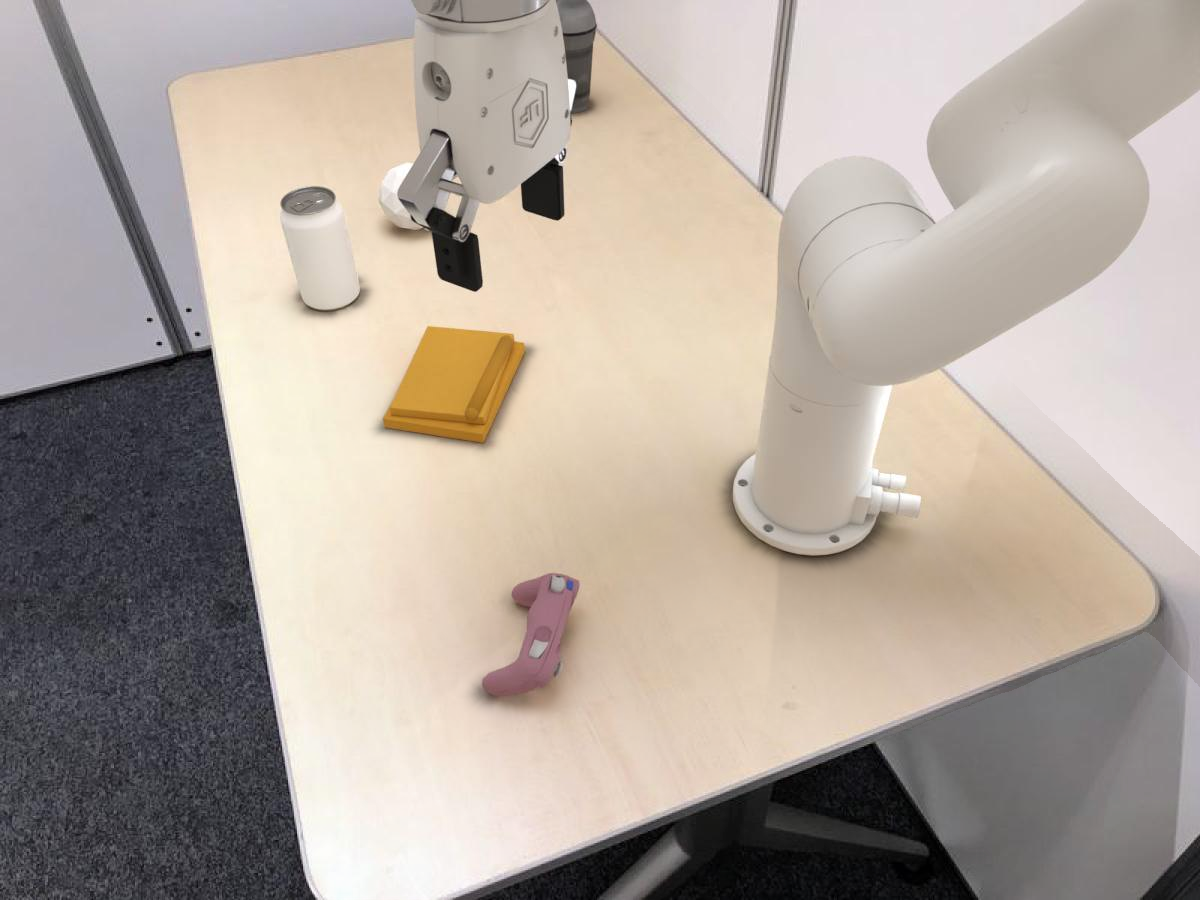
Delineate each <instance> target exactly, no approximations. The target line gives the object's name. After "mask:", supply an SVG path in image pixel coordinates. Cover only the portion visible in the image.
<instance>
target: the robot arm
mask: <svg viewBox="0 0 1200 900" xmlns="http://www.w3.org/2000/svg"><path fill="white" fill-rule="evenodd" d="M411 3H412V4H413V7H414V8H415V13H416V15H417V19H415V21H414V27H413V28H414V30H413V85H414V86H413V89H414V104H415V105H414V107H415V118H416V126H417V127H416V128H417V135H418V137H417V138H418V145H419V152H420V153H419V154H418V156H417V157H416V159H415V160H414V162H413V163H412V164H413V166H412V167H411V169H410V170H409V172H408V174H407V175H406V177H405V179H404V180H403V182H402V183H401V185H400V187H399V189H398V193H397V196H398V199H399V200H400V202H401V203H402V205H403V206H404V207H405V209H406V210H407V211H408V213H409V214H410V216H411V220H412V221H413V222H415V223H417V224H418V225H420V226H422V227H423V228H422V229H423V230H425V231H428V232H431V237H432V238H431V239H432V245H433V251H434V252H433V253H434V258H435V265H436V266H435V267H436V274H437V276H438V278H439V279H440V280H442V281H444V282H446V283H450V284H452V285H455V286H457V287H460V288H463V289H465V290H468V291H471V292H474V293H476V292H478V291H479V290H480V289H482V288H483V286H484V285H483V284H484V280H483V279H484V278H483V270H482V262H481V252H480V243H479V237H478V234H475V233H474V232H471V231H472V228H473V225H474V222H475V218H476V215H477V212H478V209H479V205H480V203H481V204H484V205H491V204H494V203H496V202H498V201H500V200H502V199H504V197H506V196H507V195H508V194H509V193H511V192H512V191H514V190H515V189H516V188H518V187H519V186H520V193H521V207H522V210H523V211H525V212H527V213H530V214H534V215H537V216H540V217H543V218H546V219H548V220H552V221H556V222H557V221H560V220H561V219H563V217H565V186H564V166H563V165H562V164H564V162H565V161H566V159H567V156H568V146H567V145H568V143H569V141H570V138H571V127H572V125H573V120H572V119H573V118H572V115H571V113H570V111H571V109H572V105H573V100H574V95H575V91H576V82H575V80H572V79H568V76H567V65H566V56H565V47H564V40H563V33H562V27H561V22H560V17H559V12H558V8H557V4H556V0H411ZM1199 91H1200V0H1084V1H1083V2H1082V3H1081V4H1079V5H1078V6H1076V7H1075V8H1074V9H1073V10H1072V11H1070V12H1069V13H1067V14H1066V15H1064V16H1063V17H1062V18H1060V19H1059V20H1057V21H1056V22H1054V23H1053V24H1052V25H1051V26H1048V28H1046V29H1045V30H1043V31H1042V32H1041V33H1039V34H1038V35H1036V36H1035V37H1033V38H1032V39H1030V40H1029V41H1028V42H1026V43H1025V44H1023V45H1022V46H1021V47H1019V48H1018V49H1016V50H1014V51H1013V52H1012V53H1011V54H1008V55H1007V56H1006V57H1005V58H1003V59H1002V60H1000V61H999V62H998V63H996V64H995V65H993V66H992V67H991V68H989V69H987V70H986V71H984V72H983V73H982V74H980V75H979V76H977V77H976V78H975V79H974V80H972V81H971V82H970V83H968V84H967V85H965V86H964V87H962V88H961V89H960V90H959V91H958V92H956V93H955V94H954V95H952V97H951V98H949V99H948V101H946V102H945V103H944V105H942V107H941V108H940V109H939V110H938V111H937V113H936V114H935V115H934V117H933V119H932V121H931V122H930V125H929V129H928V132H927V135H926V154H927V160H928V163H929V166H930V169H931V170H932V172H933V175H934V176H935V179H936V181H937V183H938V185H939V187H940V189H941V190H942V192H943V194H944V196H945V197H946V200H947V201H948V202H949V204H950V205H951V208H952V209H953V211H951V212H950V213H949V214H948V215H946V216H944V217H943V218H942V219H940V220H939V221H937V222H935V220H934V218H933V216H932V215H931V213H930V211H929V209H928V208H927V206H926V204H925V203H924V200H923V199H922V197H921V195H920V194H919V193H918V192H917V190H916V188H915V186H913V185H912V183H911V182H909V180H908V179H907V178H906V177H905V176H904V175H903V174H902V173H901V172H900V171H899V170H898V169H896V168H894V167H893V166H891V165H890V164H888V163H886V162H885V161H883V160H879V159H876V158H872V157H869V156H863V155H861V156H856V155H855V156H843V157H839V158H836V159H833V160H830V161H828V162H825V163H824V164H822V165H819V167H817V168H815V169H814V170H813V171H811V172H810V173H809V174H808V175H806V177H804V178H803V180H802V181H801V182H800V184H798V185H797V187H796V188H795V189H794V191H793V193H792V194H791V196H790V198H789V200H788V202H787V204H786V207H785V209H784V211H783V215H782V218H781V221H780V228H779V233H778V242H777V243H778V244H777V269H776V270H777V271H776V272H777V274H776V275H777V277H776V280H777V281H776V302H775V317H774V326H773V333H772V341H771V346H770V347H771V349H770V354H769V359H768V365H767V373H766V379H765V387H764V392H763V393H764V394H763V400H762V408H761V416H760V421H759V422H760V423H759V429H758V436H757V442H756V449H755V453H754V454H752V455H751V456H750V457H748V458H747V459H746V460H745V461H744V462H743V463H742V464H741V465H740V467H739V469H738V470H737V472H736V475H735V477H734V479H733V486H732V502H733V506H734V510H735V512H736V515H737V516H738V518H739V520H740V521H741V523H742V524H743V525H744V526H745V528H746V529H747V530H748V531H749V532H750V533H751V534H753V535H754V536H755V537H756V538H757V539H759V540H761V541H762V542H764V543H766V544H767V545H770V546H771V547H774V548H776V549H779V550H781V551H784V552H786V553H787V552H788V553H791V554H796V555H805V556H827V555H832V554H833V555H834V554H837V553H841V552H844V551H847V550H849V549H851V548H853V547H854V546H856V545H858V544H859V543H861V542H863V540H864V539H865V538H866V537H868V535H869V534H870V533H871V531H872V530H873V528H874V526H875V524H876V521H877V517H878V516H879V515H880V512H882V513H889V514H895V516H899V517H906V518H912V519H918V518H919V515H920V513H921V507H922V496H921V495H917V494H911V493H904V491H905V488H906V482H907V476H906V475H901V474H895V473H890V474H889V473H884V472H879V469H878V468H873V464H874V456H875V453H876V448H877V446H878V445H877V444H878V441H879V437H880V434H881V429H882V426H883V422H884V418H885V415H886V410H887V407H888V403H889V399H890V396H891V391H892V388H893V386H895V385H896V386H897V385H901V384H904V383H909V382H913V381H916V380H917V379H921V378H924V377H926V376H928V375H931V374H932V373H935V372H937V371H939V370H940V369H943V368H945V367H946V366H949V365H950V364H952V363H954V362H955V361H957V360H959V359H961V358H963V357H964V356H966V355H968V354H969V353H971V352H973V351H976V349H978V348H980V347H982V346H984V345H985V344H987V343H989V342H991V341H992V340H994V339H996V338H998V337H999V336H1001V335H1003V334H1004V333H1006V332H1008V331H1010V330H1011V329H1013V328H1015V327H1017V326H1018V325H1020V324H1022V323H1023V322H1025V321H1027V320H1029V319H1030V318H1032V317H1034V316H1035V315H1037V314H1039V313H1041V312H1043V311H1044V310H1046V309H1048V308H1049V307H1051V306H1053V305H1055V304H1057V303H1058V302H1060V301H1061V300H1063V299H1065V298H1067V297H1069V296H1070V295H1072V294H1073V293H1075V292H1076V291H1078V290H1080V289H1081V288H1083V287H1084V286H1086V285H1088V284H1089V283H1091V282H1092V281H1093V280H1095V279H1097V277H1099V276H1100V275H1101V274H1103V273H1104V272H1105V271H1106V270H1107V269H1109V267H1110V266H1112V265H1113V264H1114V262H1116V261H1117V259H1118V258H1119V257H1120V256H1121V255H1122V254H1123V252H1125V250H1126V249H1127V248H1128V247H1129V246H1130V244H1131V243H1132V241H1133V240H1134V238H1135V237H1136V236H1137V234H1138V232H1139V230H1140V228H1141V227H1142V225H1143V222H1144V220H1145V217H1146V216H1147V211H1148V208H1149V202H1150V182H1149V181H1150V180H1149V177H1148V173H1147V169H1146V167H1145V165H1144V163H1143V161H1142V159H1141V157H1140V156H1139V154H1138V152H1137V151H1136V150H1135V149H1134V147H1133V146H1132V144H1130V142H1129V141H1130V140H1132V139H1134V138H1135V137H1137V136H1138V135H1139V134H1141V133H1142V132H1144V131H1145V130H1146V129H1148V128H1149V127H1151V126H1152V125H1154V124H1156V122H1158V121H1159V120H1161V119H1162V118H1164V117H1165V116H1166V115H1168V114H1170V112H1172V111H1174V110H1175V109H1176V108H1178V107H1180V106H1181V105H1182V104H1184V103H1185V102H1186V101H1188V100H1189V99H1191V98H1192V97H1193V96H1194V95H1196V94H1197V93H1198V92H1199ZM559 164H561V165H559ZM456 178H458V179H459V181H460V183H459V182H455V181H454V180H455V179H456ZM451 194H453V195H455V196H459V197H461V198H460V201H459V205H458V208H457V211H456V215H455V216H453V215H452V214H450V213H449V212H447V211H446V208H447V204H448V201H449V198H450V195H451ZM884 488H885V489H888V490H892V491H899V492H898V493H897V492H889V491H885V490H884Z"/></svg>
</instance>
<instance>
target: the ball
mask: <svg viewBox="0 0 1200 900" xmlns="http://www.w3.org/2000/svg"><path fill="white" fill-rule="evenodd" d="M413 164H414V163H411V162H404V163H402V164H400V165H397V166H395V167H393V168H390V169H388V172H387V173H386V175H385V176H384V178H383V180H382V181H381V183H380V189H379V195H378V200H377V201H378V203H379V204H380V207H381V209H382V211H383V213H384V215H385V218H386V219H387V220H388V221H390V222H391V223H393V224H394V225H395V226H396V227H398V228H402V229H408V230H413V231H418V230H421V229H424V228H423V227H422V226H420V225H418V224H417V223H415V222H413V221H412V220H411V216H410V214H409V213H408V211H407V210H406V209H405V207H404V206H403V205H402V203H401V202H400V200H399V199H398V196H397V193H398V189H399V187H400V185H401V183H402V182H403V180H404V179H405V177H406V175H407V174H408V172H409V170H410V169H411V167H412V166H413Z"/></svg>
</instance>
